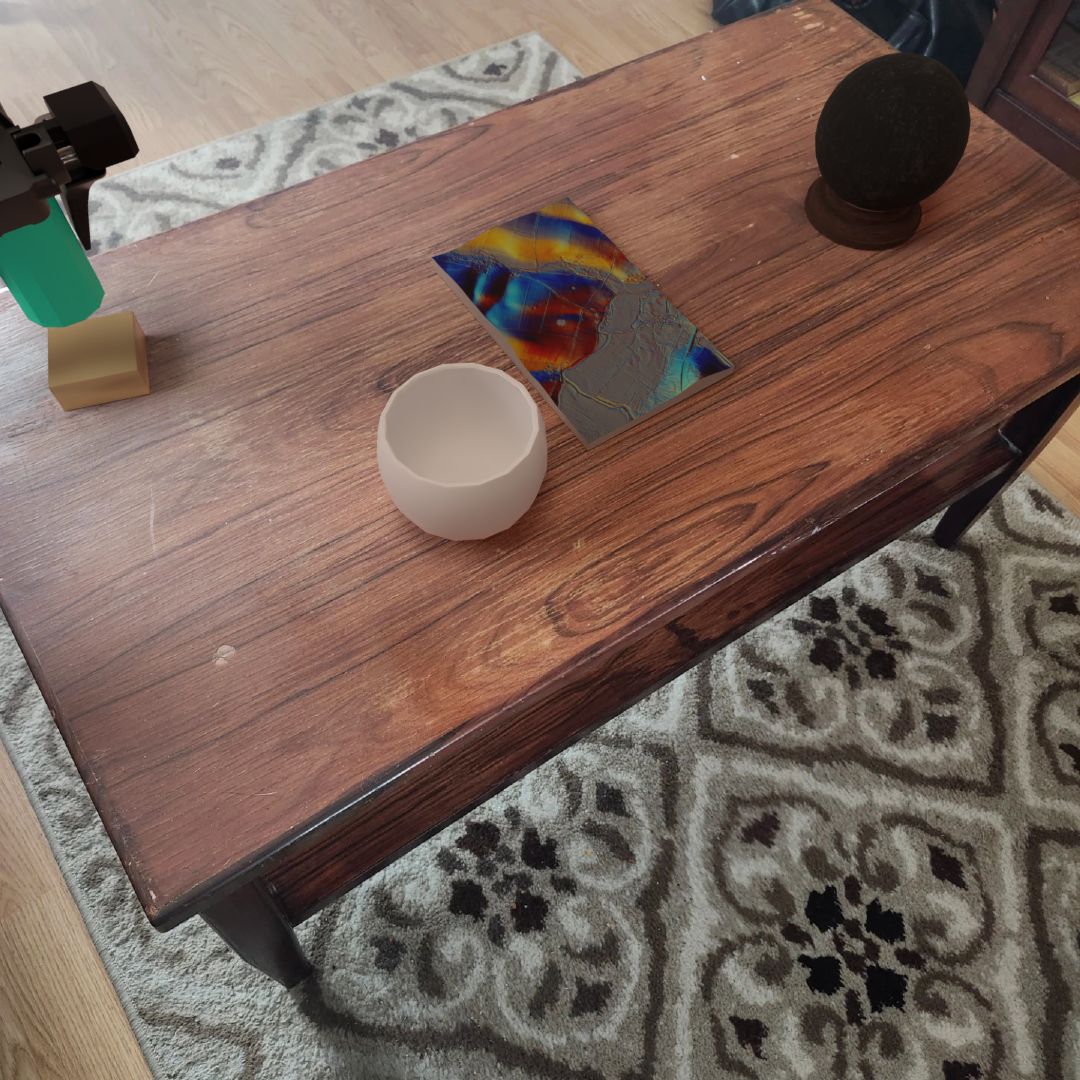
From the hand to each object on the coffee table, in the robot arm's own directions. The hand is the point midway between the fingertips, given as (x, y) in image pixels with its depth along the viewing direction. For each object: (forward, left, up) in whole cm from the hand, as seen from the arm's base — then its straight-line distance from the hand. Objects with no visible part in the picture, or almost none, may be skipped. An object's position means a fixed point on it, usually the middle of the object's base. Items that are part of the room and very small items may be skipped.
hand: (41, 264), depth 66 cm
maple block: (-1, +1, -13) cm, 13 cm away
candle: (0, 0, -4) cm, 4 cm away
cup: (+33, -6, -13) cm, 36 cm away
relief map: (+38, +15, -13) cm, 43 cm away
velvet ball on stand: (+63, +35, -13) cm, 73 cm away
